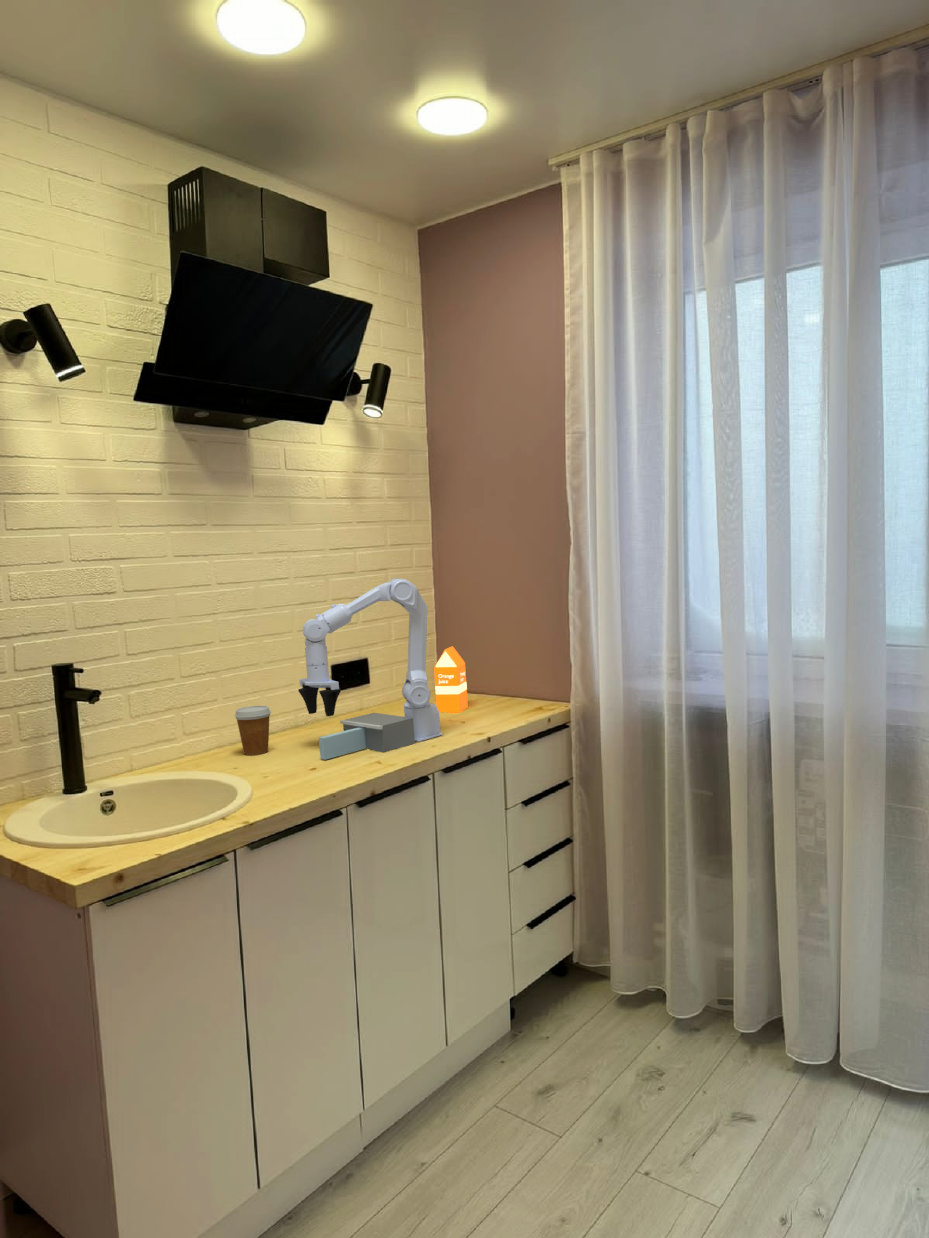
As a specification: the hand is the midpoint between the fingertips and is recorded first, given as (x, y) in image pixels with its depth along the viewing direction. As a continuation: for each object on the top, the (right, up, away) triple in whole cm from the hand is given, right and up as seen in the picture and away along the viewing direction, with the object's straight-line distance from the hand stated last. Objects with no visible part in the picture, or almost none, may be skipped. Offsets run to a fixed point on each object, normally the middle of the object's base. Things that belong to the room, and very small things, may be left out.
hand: (321, 714), depth 233 cm
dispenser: (+15, -8, +2) cm, 18 cm away
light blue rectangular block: (+7, -9, -7) cm, 14 cm away
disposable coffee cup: (-18, -11, +2) cm, 21 cm away
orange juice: (+35, -4, +44) cm, 56 cm away
